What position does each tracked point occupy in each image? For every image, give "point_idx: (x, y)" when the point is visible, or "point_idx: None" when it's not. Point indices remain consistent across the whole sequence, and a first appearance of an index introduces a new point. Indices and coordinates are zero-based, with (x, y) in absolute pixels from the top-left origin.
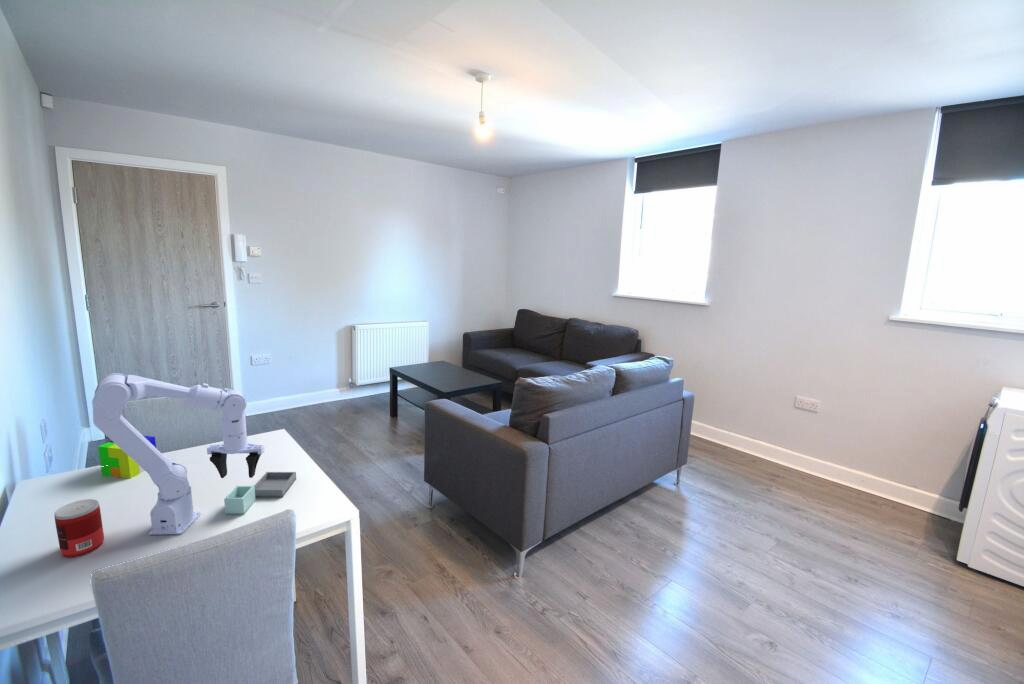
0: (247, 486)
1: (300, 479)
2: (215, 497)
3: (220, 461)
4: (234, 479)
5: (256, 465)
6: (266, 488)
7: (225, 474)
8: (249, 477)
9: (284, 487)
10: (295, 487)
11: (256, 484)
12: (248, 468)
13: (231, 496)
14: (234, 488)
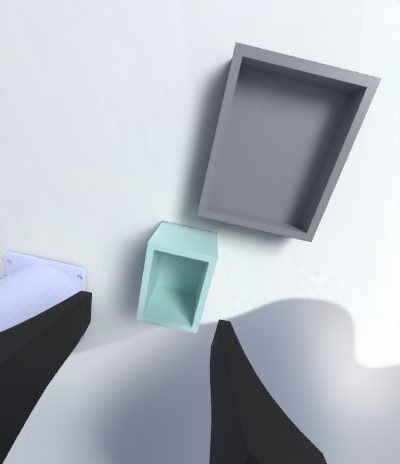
0: (191, 256)
1: (373, 98)
2: (83, 178)
3: (8, 436)
4: (94, 28)
5: (247, 361)
6: (243, 167)
7: (87, 309)
8: (211, 348)
9: (318, 222)
10: (346, 169)
11: (210, 174)
12: (212, 416)
13: (150, 285)
14: (146, 261)
